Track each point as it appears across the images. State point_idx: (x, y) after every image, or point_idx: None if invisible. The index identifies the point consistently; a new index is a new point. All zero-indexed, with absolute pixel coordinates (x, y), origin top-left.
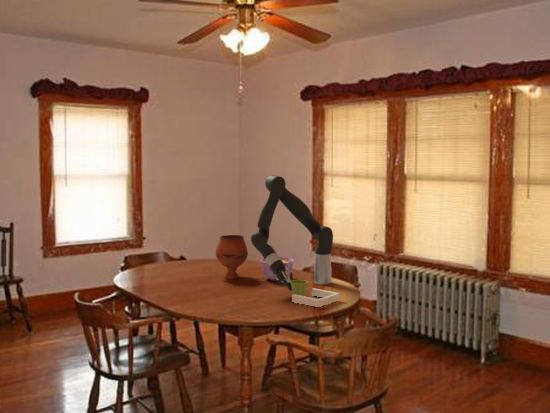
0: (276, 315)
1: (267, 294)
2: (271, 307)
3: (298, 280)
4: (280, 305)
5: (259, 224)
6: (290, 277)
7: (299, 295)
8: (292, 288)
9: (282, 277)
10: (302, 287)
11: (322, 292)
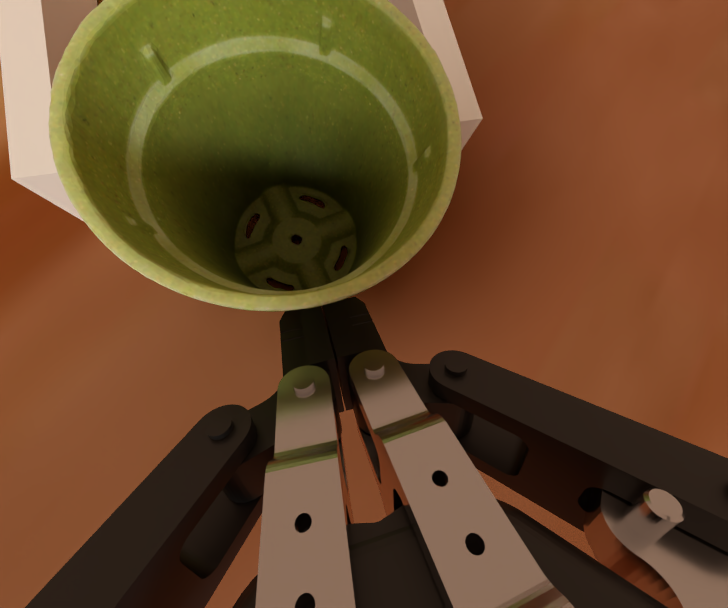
0: (694, 19)
1: None
2: (652, 167)
3: (151, 257)
4: (571, 165)
5: None
6: (184, 532)
7: (434, 48)
8: (394, 213)
9: (517, 511)
10: (313, 61)
11: (60, 31)
